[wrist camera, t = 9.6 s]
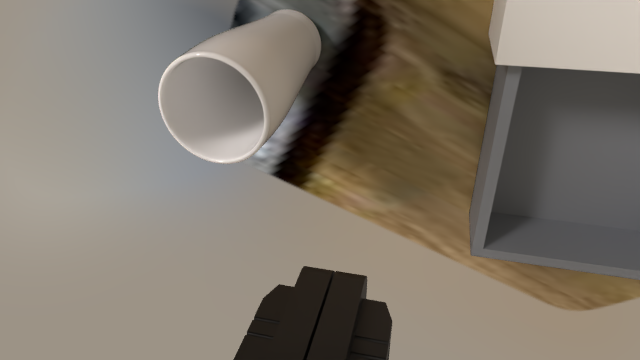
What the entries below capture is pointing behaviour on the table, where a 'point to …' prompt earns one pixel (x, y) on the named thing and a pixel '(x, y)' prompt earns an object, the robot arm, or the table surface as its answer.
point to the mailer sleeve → (567, 34)
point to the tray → (560, 171)
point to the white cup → (238, 85)
